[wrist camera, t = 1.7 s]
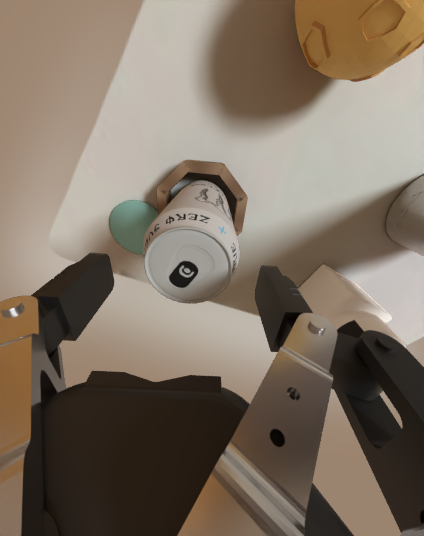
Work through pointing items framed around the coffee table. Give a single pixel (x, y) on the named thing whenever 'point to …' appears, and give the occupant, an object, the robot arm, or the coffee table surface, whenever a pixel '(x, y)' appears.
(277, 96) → the coffee table surface
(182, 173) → the collar
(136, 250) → the coaster
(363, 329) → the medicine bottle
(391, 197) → the coffee table surface
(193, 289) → the energy drink can
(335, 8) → the stress ball
